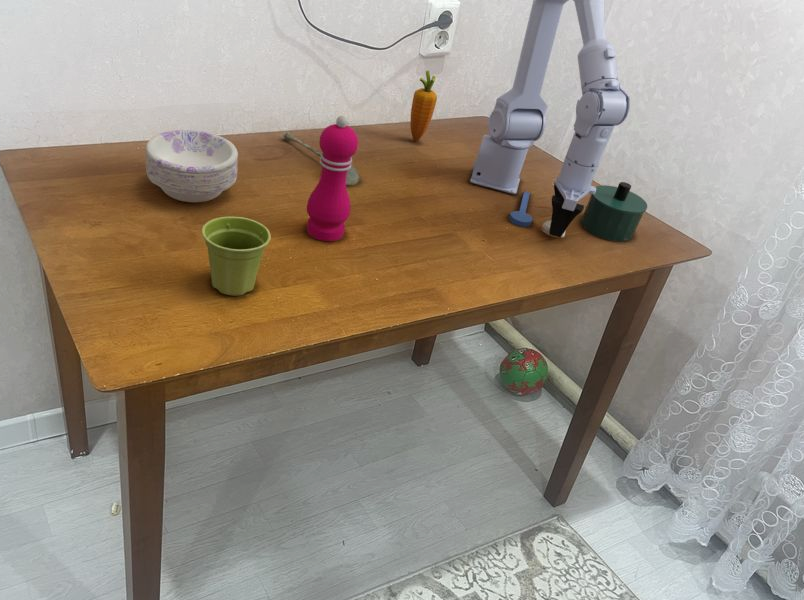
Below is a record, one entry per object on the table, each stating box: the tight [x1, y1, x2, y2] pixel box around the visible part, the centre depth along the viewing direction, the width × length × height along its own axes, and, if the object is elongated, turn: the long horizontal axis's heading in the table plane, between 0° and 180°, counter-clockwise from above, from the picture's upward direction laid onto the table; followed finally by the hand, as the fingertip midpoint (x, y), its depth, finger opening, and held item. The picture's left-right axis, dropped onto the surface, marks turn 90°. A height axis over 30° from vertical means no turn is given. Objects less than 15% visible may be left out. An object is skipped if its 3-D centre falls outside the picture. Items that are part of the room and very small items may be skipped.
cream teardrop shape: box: [541, 219, 566, 238], centre depth 130 cm, size 4×5×2 cm
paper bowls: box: [145, 129, 239, 203], centre depth 122 cm, size 15×15×8 cm
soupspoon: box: [282, 131, 361, 186], centre depth 140 cm, size 22×3×7 cm
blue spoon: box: [508, 190, 533, 227], centre depth 138 cm, size 4×15×1 cm, turn 163°
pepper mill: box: [306, 115, 359, 242], centre depth 114 cm, size 7×7×20 cm
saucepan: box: [581, 194, 644, 242], centre depth 135 cm, size 10×10×6 cm
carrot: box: [409, 70, 438, 143], centre depth 152 cm, size 5×5×15 cm
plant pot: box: [201, 215, 272, 297], centre depth 101 cm, size 9×9×9 cm
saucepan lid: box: [590, 181, 648, 214], centre depth 133 cm, size 10×10×4 cm
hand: (555, 229), depth 130 cm, fingers closed on cream teardrop shape, 4 cm apart
